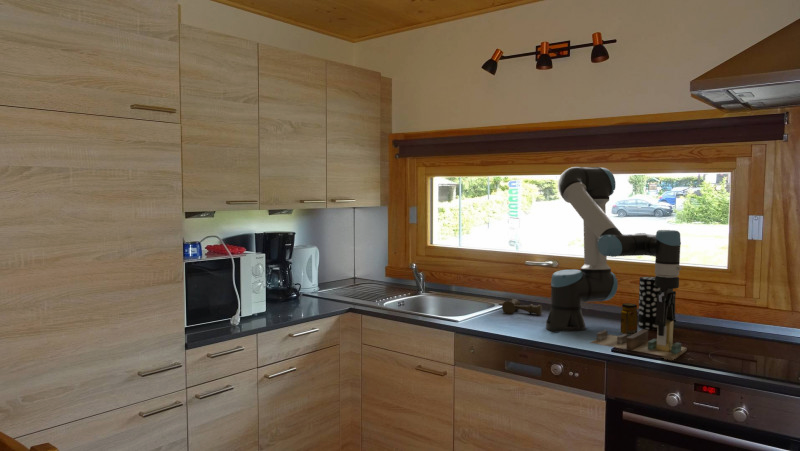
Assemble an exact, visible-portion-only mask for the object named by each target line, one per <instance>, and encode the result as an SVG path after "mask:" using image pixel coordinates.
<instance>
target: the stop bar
mask: <svg viewBox="0 0 800 451" xmlns="http://www.w3.org/2000/svg"><path fill="white" fill-rule="evenodd" d="M660 322H661V321H660ZM674 323H675V322H674V321H673V320H666V326H667V330H666V346H664V345H658V344H657V348H656V350H662V351H667V352H669V351H671V346H672V345H674V342H673V341H674Z"/></svg>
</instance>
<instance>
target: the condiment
mask: <svg viewBox="0 0 800 451" xmlns="http://www.w3.org/2000/svg"><path fill="white" fill-rule="evenodd" d="M637 307H638V305H637V304H635V303H632V302H631V303H629V302H625V303H622V305H621V308H622V310H621V311H620V334H621V333H622V334H628V335H633V334H635V333H637V332H638V317H639V311H638V308H637Z"/></svg>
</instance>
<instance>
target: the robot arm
mask: <svg viewBox="0 0 800 451" xmlns="http://www.w3.org/2000/svg"><path fill="white" fill-rule="evenodd" d="M557 188H558V192H559V194H560V196H561V197H562V199H563V200H564V201H565V202H566V203H568V204H570V205H571V206H572V207H573V209H574V210H575V211H576V212H577V214H578V215H579V217H580V218H581V219H582V221H583V252H584V253H583V255H584V256H583V259H584V260H583V261H584V264H583V265H582V266H580V269H562V270H557V271H555V272H553V273H552V275H551V280H550V286H551V288H550V289H551V290H550V291H551V292H550V311H549V313H548V316H547V319H546V323H545V329H547V331H550V332H555V333H560V332H582V331H584V330H586V322H585V319H584V315H583V313H582V303H588V302H590V303H591V302H600V303H602V302H604V301H609V300H611V299H613V297H615V295H616V293H617V291H618V288H619V287H618V284H619V281H618V279H617V277H616V274H614V273H613V272H612V271H611V269H612V267H610V266H609V265H608V264H607V261H608V260H607V257H610V258H611V257H612V258H614V257H615V258H616V257H629V256H630V257H632V256H633V257H635V256H636V257H637V256H649V257H655V260H654V261H655V262H654V263H655V264H654V265H655V266H654V274H655V276H654V277H655V286H656V287H659V288H660V293H659V295H657V296H656V299H657V305H656V321H655V325H657V331H656V339H657V344H658V345H664V346H666V330H667V326H666V320H673V321H674V322H673V323H676V322H677V319H676V295H677V292H676V289H678V288H679V287H680V277H679V276H680V270H682V266H680V262H681V260H680V259H681V243H682V242H681V233H680V232H679V231H678V230H673V229H672V230H671V229H658V230H657V231H656V234H650V233H645V232H642V233H641V232H640V233H633V234H624V233H623V234H622V232H621V231H620V229H619V228H618V227H616V225H615V224H614V222H613V221H612V220H611V219H610V218H609V216H607V214H606V210H607V209H606V204H607V203H608V202H609V201H610V196H612V195H613V194H614V192H615V190H616V178H615V176H614V174H613V172H611V170H609V169H608V168H606V167H600V166H590V167H589V166H572V167H569V168H567V169H565V170H564V171H563V172H562V173H561V175H560V176H559V179H558V181H557ZM674 289H675V290H674ZM660 321H661V322H660Z"/></svg>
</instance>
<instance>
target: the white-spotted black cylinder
mask: <svg viewBox="0 0 800 451" xmlns="http://www.w3.org/2000/svg"><path fill="white" fill-rule="evenodd" d="M638 288H639V289H638V291H639V292H638V326H637V328H638V327H639V328H640V329H644V330H650V331H654V330H655V331H656V330H657V325H655V321H656V305H657V299H656V296H657V295H659V293H660V288H659V287H656V286H655V276H640V277H639V287H638Z"/></svg>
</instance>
